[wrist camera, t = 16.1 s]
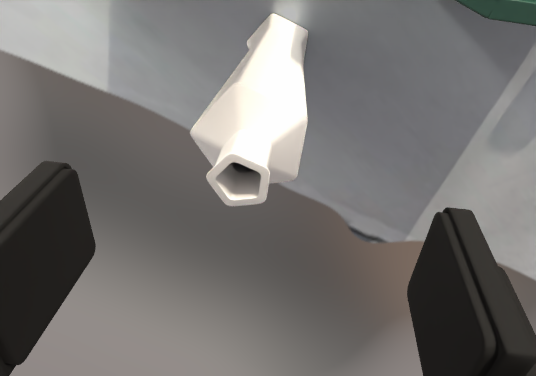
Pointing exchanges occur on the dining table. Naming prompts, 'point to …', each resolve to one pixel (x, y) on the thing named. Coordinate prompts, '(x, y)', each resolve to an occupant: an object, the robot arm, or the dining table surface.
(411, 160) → the dining table surface
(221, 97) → the perfume bottle
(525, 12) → the tin
